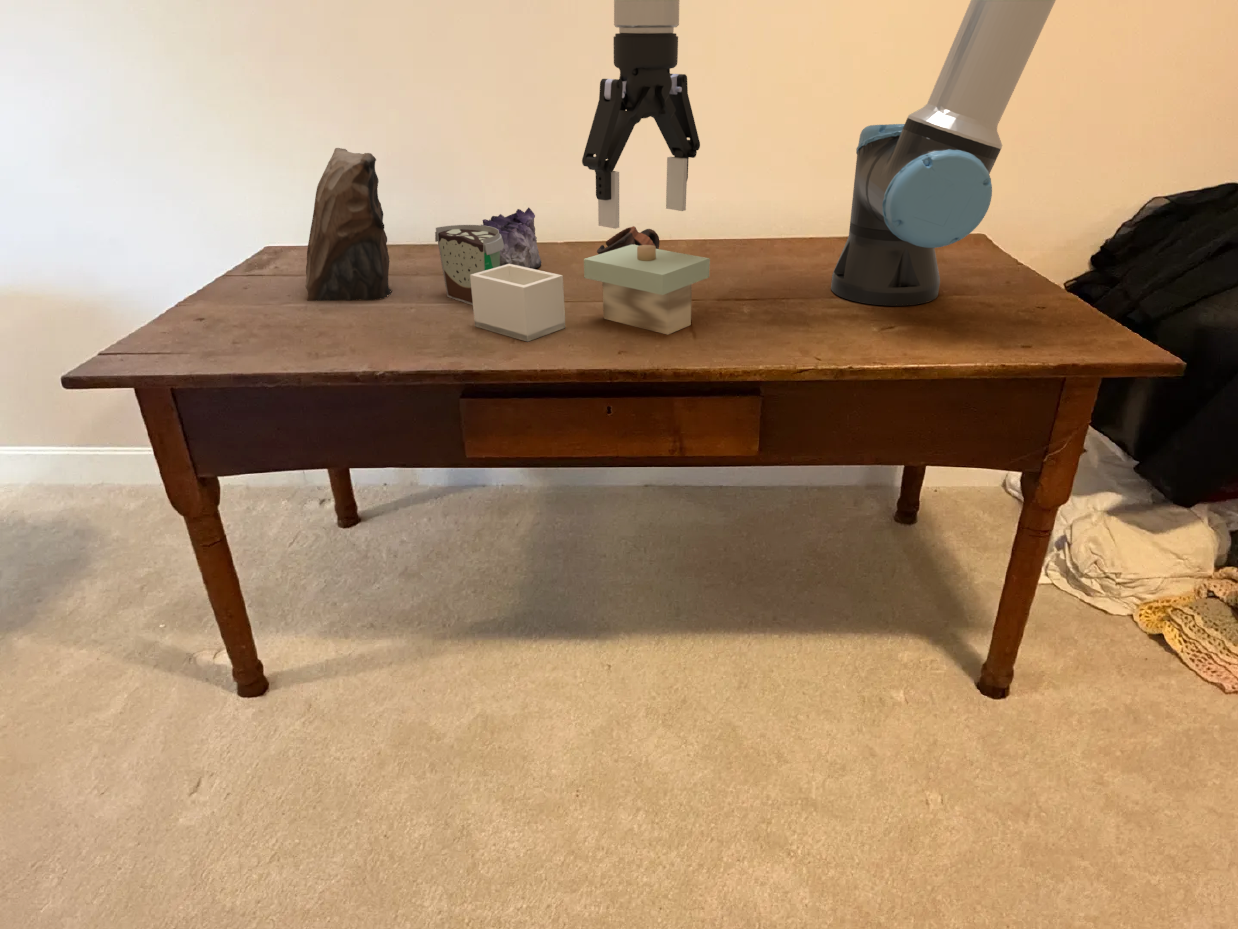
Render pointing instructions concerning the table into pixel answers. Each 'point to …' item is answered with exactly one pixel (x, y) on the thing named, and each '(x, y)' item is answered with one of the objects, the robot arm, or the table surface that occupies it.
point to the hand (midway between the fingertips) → (643, 217)
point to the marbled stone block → (648, 308)
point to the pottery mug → (630, 239)
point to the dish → (518, 301)
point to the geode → (517, 238)
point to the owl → (347, 233)
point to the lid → (647, 268)
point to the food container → (466, 256)
